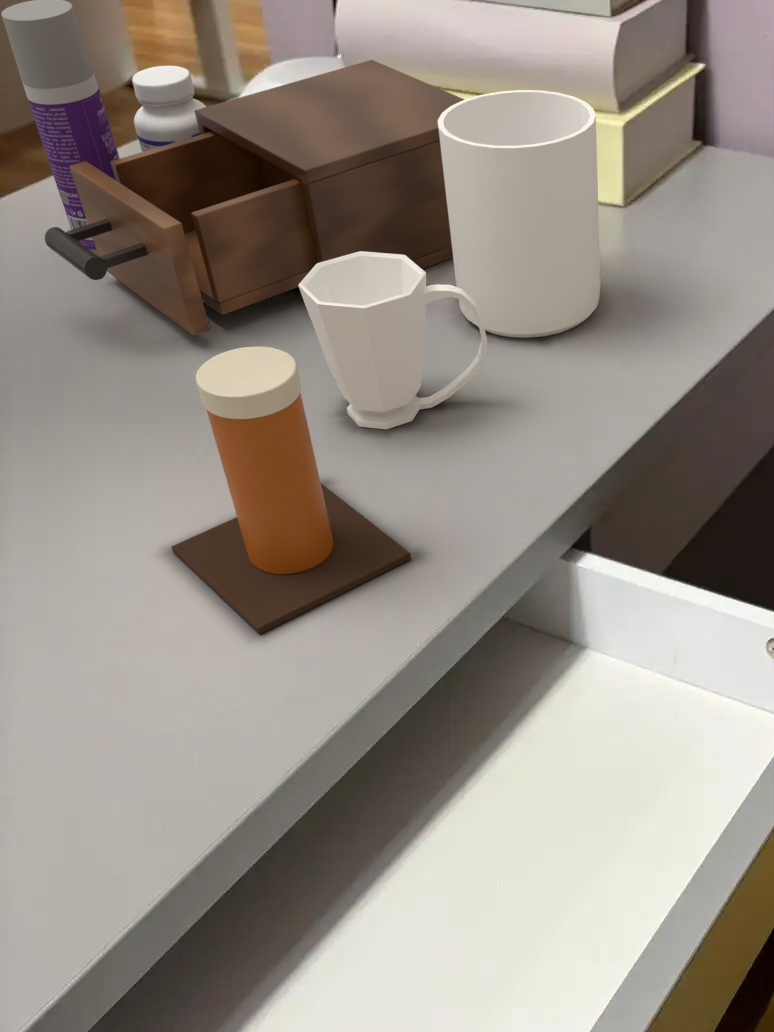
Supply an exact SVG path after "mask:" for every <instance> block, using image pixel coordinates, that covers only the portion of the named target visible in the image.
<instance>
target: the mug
mask: <svg viewBox="0 0 774 1032" xmlns="http://www.w3.org/2000/svg"><path fill="white" fill-rule="evenodd" d="M464 99H465V98H464ZM438 129H439V137H440V146H441V155H442V164H443V172H444V181H445V190H446V199H447V207H448V216H449V225H450V234H451V243H452V251H453V258H452V259H453V268H454V276H455V285H456V286H455V287H458V288H461V289H462V290H463V291H464V292H465V293H466V294H468V295H469V296H470V297H471V298H472V299H473V300H474V301H475V303H476V305H477V308H478V310H479V312H480V315H481V317H482V320H483V324H484V328H485V332H487V333H490V334H493V335H496V336H503V337H509V338H520V339H521V338H522V339H529V338H541V337H542V338H543V337H549V336H552V335H557V334H561V333H563V332H566V331H568V330H571V329H574V328H576V326H578V325H580V324H582V323H583V322H585V321H586V320H587V319H588V318H589V317H590V316H591V315H592V314H593V312H594V311H595V310H596V309H597V307H598V305H599V301H600V292H601V259H600V256H601V255H600V253H601V252H600V222H599V221H600V219H599V218H600V216H599V185H598V184H599V183H598V182H599V181H598V180H599V179H598V147H597V145H598V143H597V115H596V111H595V109H594V107H592V106H591V105H590V104H589V103H588V102H586V101H584V100H582V99H580V98H578V97H576V96H573V95H570V94H565V93H561V92H557V91H549V90H548V91H547V90H537V89H535V90H533V89H515V90H501V91H495V92H489V93H484V94H479V95H476V96H472V97H468V98H466V99H465V100H463V101H461V102H458V103H456V104H454V105H452V106H450V107H449V108H448V109H446V110H445V111H444V112H442V114H441V115H440V117H439V119H438ZM458 303H459V309H460V312H461V313H462V314H463V316H464V317H465V318H466V319H467V320H468V321H469V322H470V323H472V324H473V325H475V326H476V327H478V328H479V326H478V324H477V321H476V319H475V316H474V314H473V312H472V311H471V310H470V309H469V308H468V307H467V306H466V305H465V304H463V303H462V302H461V301H460V300H459V299H458Z"/></svg>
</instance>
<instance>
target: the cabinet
mask: <svg viewBox="0 0 774 1032" xmlns="http://www.w3.org/2000/svg"><path fill="white" fill-rule="evenodd" d="M463 100H465V98H463V97H460V96H458V95H456V94H453V93H451V92H449V91H446V90H444V89H441V88H439V87H437V86H434V85H432V84H431V83H427V82H426V81H423V80H421V79H418V78H416V77H414V76H411V75H409V74H406V73H405V72H401V71H400V70H397V69H395V68H393V67H390V66H388V65H386V64H384V63H381V62H379V61H376V60H373V59H370V60H366V61H362V62H358V63H355V64H352V65H349V66H345V67H342V68H338V69H334V70H331V71H327V72H324V73H321V74H317V75H313V76H310V77H307V78H303V79H299V80H296V81H293V82H289V83H285V84H282V85H278V86H276V87H271V88H268V89H265V90H261V91H258V92H254V93H251V94H250V93H249V94H248V95H244V96H241V97H237V98H233V99H229V100H227V101H223V102H219V103H216V104H212V105H209V106H206V107H205V108H202V109H198V110H195V116H196V120H197V122H198V128H199V132H200V135H201V134H205V133H208V132H212V131H214V132H216V133H217V134H219V135H221V136H223V137H225V138H226V139H228V140H230V141H232V142H234V143H236V144H237V145H239V146H241V147H243V148H245V149H246V150H248V151H250V152H252V153H254V154H256V155H257V156H259V157H261V158H263V159H265V160H266V161H268V162H270V163H272V164H274V165H276V166H277V167H279V168H281V169H283V170H285V171H286V172H288V173H290V174H292V175H294V176H296V177H297V178H299V179H301V180H302V184H303V189H304V194H305V200H306V205H307V210H308V215H309V220H310V225H311V230H312V236H313V241H314V246H315V251H316V256H317V261H318V263H320V262H323V261H327V260H330V259H334V258H338V257H341V256H345V255H348V254H352V253H356V252H359V251H364V252H376V253H389V254H401V255H406V256H407V257H408V258H409V259H410V260H412V261H413V262H414V263H415V264H416V265H418V266H419V267H420V268H421V269H422V270H424V269H426V268H429V267H431V266H435V265H437V264H440V263H442V262H445V261H447V260H450V259H453V251H452V243H451V234H450V225H449V216H448V207H447V199H446V190H445V181H444V172H443V164H442V155H441V146H440V137H439V129H438V119H439V117H440V115H441V114H442V112H444V111H445V110H446V109H448V108H449V107H450V106H452V105H454V104H456V103H458V102H461V101H463Z"/></svg>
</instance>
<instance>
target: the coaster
mask: <svg viewBox="0 0 774 1032" xmlns="http://www.w3.org/2000/svg"><path fill="white" fill-rule="evenodd" d="M321 487H322V491H323V496H324V500H325V505H326V509H327V514H328V518H329V523H330V527H331V532H332V536H333V541H334V545H333V549H332V552H331V553H330V555H329V556H328V557H327V558H326V559H325V560H324V561H323V562H322V563H320V564H319V565H317V566H315V567H314V568H311V569H309V570H306V571H303V572H299V573H294V574H272V573H268V572H264V571H262V570H260V569H258V568H257V567H255V566H254V565H253V564H252V563H251V561H250V559H249V557H248V553H247V550H246V546H245V543H244V539H243V536H242V532H241V529H240V525H239V522H238V518H237V516H236V517H234V518H232V519H229V520H227V521H225V522H223V523H220V524H218V525H216V526H213V527H212V528H209V529H206V530H205V531H202V532H201V533H199V534H196V535H193V536H191V537H189V538H187V539H185V540H183V541H181V542H178V543H176V544H174V545H172V546H171V547H170V548H171V551H172V553H173V554H174V555H175V556H176V557H177V558H178V559H179V560H180V561H182V563H184V565H186V566H187V568H189V569H190V570H191V571H192V572H193V573H194V574H195V576H197V577H198V578H199V579H200V580H201V581H203V582H204V584H205V585H207V586H208V587H209V588H210V589H211V590H212V591H213V592H214V593H215V594H216V595H217V596H218V597H220V599H221V600H222V601H223V602H225V604H227V605H228V606H229V608H231V609H232V610H233V611H234V612H235V613H236V614H237V615H238V616H239V617H241V618H242V620H244V622H246V623H247V624H248V625H249V626H250V627H251V628H252V629H253V630H254V631H255V632H256V633H257V634H258V635H261V634H263V633H265V632H267V631H269V630H271V629H273V628H275V627H277V626H279V625H282V624H283V623H285V622H288V621H289V620H291V619H293V618H295V617H297V616H299V615H301V614H303V613H305V612H307V611H309V610H311V609H313V608H315V607H318V606H320V605H321V604H323V603H326V602H327V601H330V600H331V599H334V598H335V597H337V596H339V595H341V594H344V593H346V592H348V591H350V590H352V589H354V588H355V587H357V586H360V585H362V584H364V583H366V582H368V581H369V580H372V579H374V578H376V577H377V576H380V575H382V574H384V573H386V572H388V571H390V570H392V569H394V568H396V567H398V566H400V565H402V564H403V563H406V562H408V561H409V560H411V559H412V556H411V555H412V554H411V552H410V551H408V549H406V548H404V547H403V546H402V545H401V544H399V543H398V542H397V541H396V540H395V539H394V538H392V537H391V536H390V535H388V534H387V533H386V532H384V531H383V530H382V529H380V528H379V527H378V526H376V525H375V523H372V521H370V520H369V519H367V517H365V516H364V515H363V514H361V513H360V512H359V511H358V510H356V509H355V508H354V507H352V506H351V505H350V504H349V503H347V502H346V501H344V500H343V499H342V498H341V497H340V496H338V495H337V494H336V493H334V492H333V491H332V490H331V489H329V488H328V487H327V486H325V485H324V484H323V483H321Z"/></svg>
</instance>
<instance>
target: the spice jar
mask: <svg viewBox="0 0 774 1032" xmlns="http://www.w3.org/2000/svg"><path fill="white" fill-rule="evenodd" d="M195 383H196V386H197V390H198V393H199V398H200V400H201V404H202V406H203V407H204V408H205V410H206V413H207V417H208V420H209V424H210V427H211V430H212V434H213V438H214V441H215V445H216V449H217V452H218V455H219V458H220V462H221V467H222V470H223V473H224V476H225V479H226V483H227V486H228V490H229V494H230V497H231V500H232V505H233V507H234V510H235V515H236V517H237V518H238V522H239V525H240V529H241V532H242V536H243V539H244V543H245V546H246V550H247V553H248V557H249V559H250V561H251V563H252V564H253V565H254V566H255V567H257V568H258V569H260V570H262V571H264V572H268V573H272V574H294V573H299V572H303V571H306V570H309V569H311V568H314V567H315V566H317V565H319V564H320V563H322V562H323V561H324V560H325V559H326V558H327V557H328V556H329V555H330V553H331V552H332V549H333V545H334V541H333V536H332V532H331V527H330V523H329V518H328V514H327V509H326V505H325V500H324V496H323V491H322V487H321V484H322V482H321V478H320V473H319V469H318V465H317V461H316V456H315V452H314V447H313V443H312V437H311V434H310V433H311V432H310V429H309V424H308V420H307V419H308V418H307V415H306V411H305V406H304V401H303V398H302V393H301V391H302V382H301V378H300V374H299V371H298V365H297V362H296V360H295V358H294V357H293V356H292V355H291V354H290V353H288V352H286V351H285V350H282V349H279V348H275V347H271V346H260V345H259V346H245V347H238V348H234V349H230V350H227V351H223V352H221V353H218V354H216V355H214V356H212V357H210V358H209V359H207V360H206V361H205V362H203V363H202V364H201V365H200V367H199V368H198V369H197V371H196V375H195Z"/></svg>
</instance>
